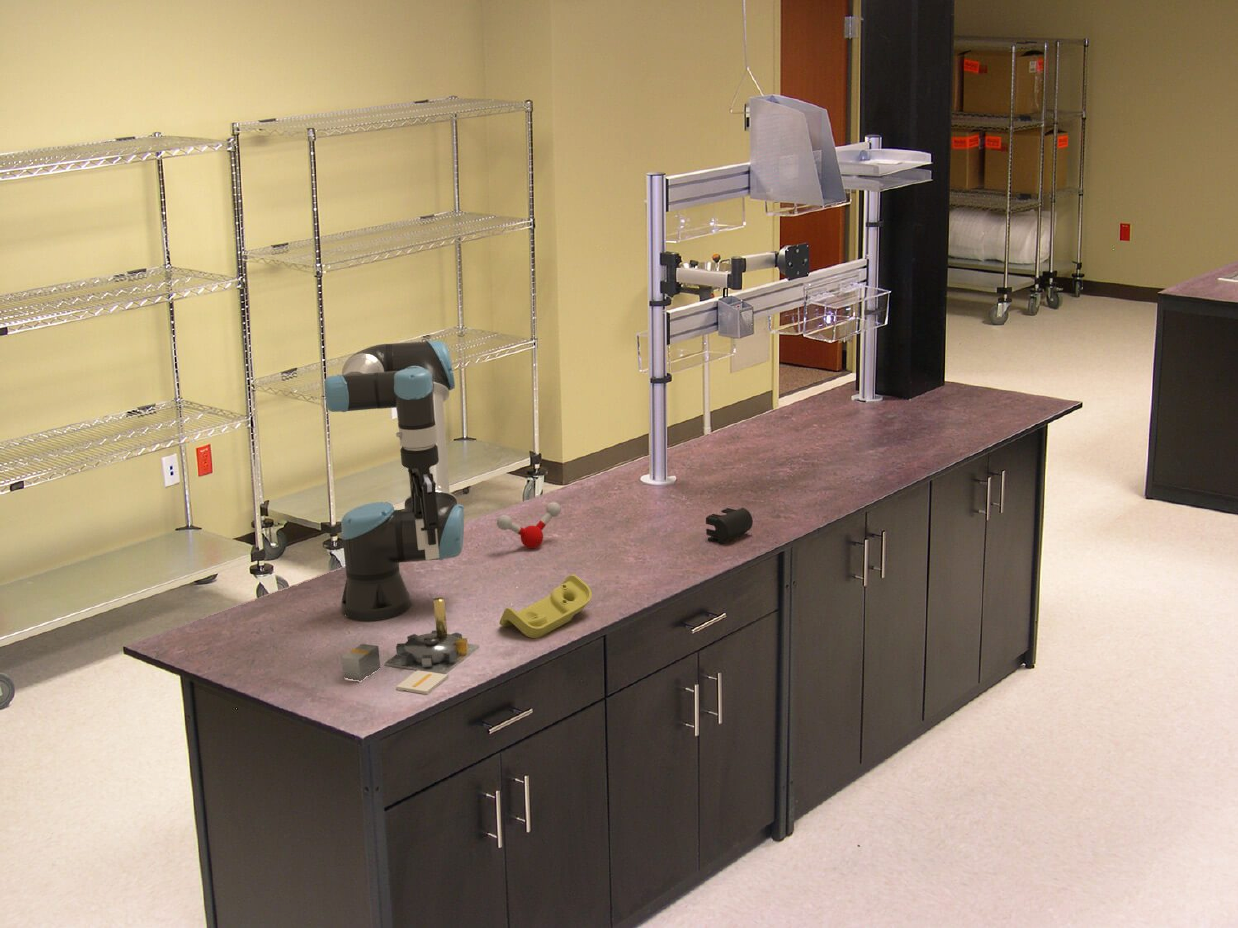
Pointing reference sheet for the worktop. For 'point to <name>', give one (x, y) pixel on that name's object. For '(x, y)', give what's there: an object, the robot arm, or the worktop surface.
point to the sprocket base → (436, 667)
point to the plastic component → (550, 609)
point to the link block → (361, 662)
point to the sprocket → (433, 642)
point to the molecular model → (530, 534)
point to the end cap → (728, 524)
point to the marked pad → (422, 682)
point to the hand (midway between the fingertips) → (428, 553)
